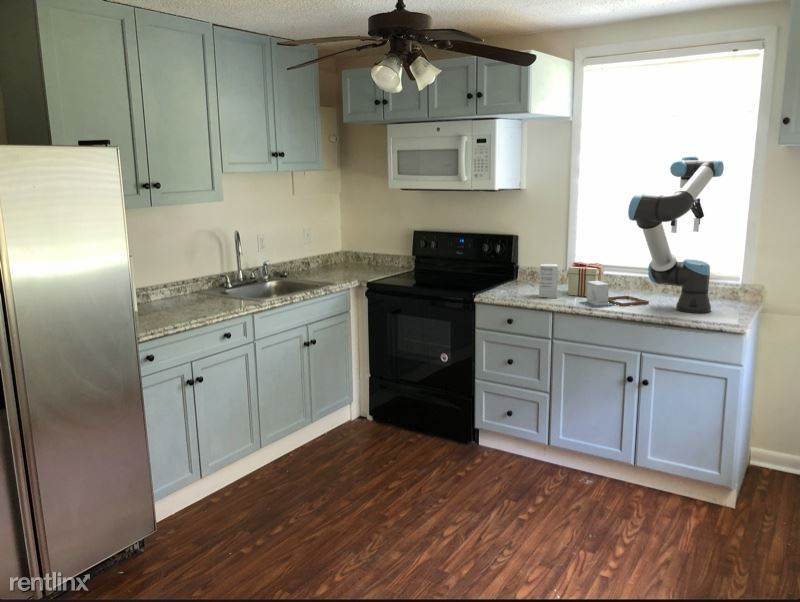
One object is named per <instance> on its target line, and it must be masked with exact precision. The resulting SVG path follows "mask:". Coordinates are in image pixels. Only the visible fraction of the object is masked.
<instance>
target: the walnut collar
mask: <svg viewBox="0 0 800 602" xmlns="http://www.w3.org/2000/svg"><path fill="white" fill-rule="evenodd" d="M616 299H621V300H629V299H631V300H630V301H629V302H620V301H618V300H616ZM633 300H635V301H633ZM631 301H632V302H631ZM637 301H638V302H637ZM649 301H650V300H649ZM649 301H648V300H646V299H642V298H638V297H635V296H631V295H620V296H608V302H609V303H612V304H616V305H615V306H618V305H619V307H621V306H624V307H631V306H630V305H634V306H642V305H641V304H645V305H649V304H650V302H649Z"/></svg>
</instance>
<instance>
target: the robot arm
mask: <svg viewBox="0 0 800 602" xmlns="http://www.w3.org/2000/svg"><path fill="white" fill-rule="evenodd" d="M669 168H670V169H669V171H670V173H671V175H672V176H674V177H677V178H680V181H679V188H680V189H679V190H677V191H675V192H674V193H673V194H644V193H642V194H635V195H634V196H633V197H632V198H631V200H630V202H629V205H628V212H627V213H628V215H627V216H628V219H629V221H632V222H634V221H635V222H636V225H637V227H638V228H639V229H642V232H643V235H644V237H645V241H646V244H647V248H648V250H649V254H650V257H651V261H650V262H649V264H648V266H647V268H648V269H647V271H648V273H647V274H648V275H647V276H648V278H649V280H650V281H651V282H652V283H654V284H656V285H661V286H662V285H664V286H671V287H681V292H680V295H679V298H678V300H677V303H676V304H675V305H676V306H675V309H676V310H677V311H680V312H684V313H691V314H705V313H706V314H708V313H710V312H711V311H712V305H711V303H710V297H709V289H710V288H709V285H710V278H711V277H710V275H711V266H710V264H709V263H708V262H705V261H702V260H698V259H691V258H690V259H689V258H687V259H684V260H683V261H678V260H677V258H676V256H675V255H674V254H672V253H671V250H670V247H669V243H668V242H669V241H668V239H667V237H666V233H665V229H664V226H663V223H667V222H668V223H669V222H670V226H671V230H670V232H671V233H672V234H673V233H675V234H677V231H678V230H677V229H678V219H679V218H682V216H684V215H685V214H687V213H688V212H689V211H691V212H692V214H693V215H694V218H693V227H692V228H693V229H692V230H693V232H695V233H697V232H698V233H699V229H700V228H699V227H700V224H701V219H703V218H704V217H705V213H704V211H703V207H702V204H701V199H700V198H699V197H698V196H699V195H700V194H701V192H703V190H704V189H705V188H706V187H707V185H708V184H709V183H710V181H711V180H712V179H713V178H719V177H721V176H722V175H723V173H724V168H725V166H724V162H723V161H722V160H721V159H720V160H717V159H707V160H706V159H704V160H703V159H702V160H699V157H698V156H683V157H682V158H681V160H680V159H679V160H676V161H673V163H671V165H670V167H669Z"/></svg>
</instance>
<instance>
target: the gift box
mask: <svg viewBox="0 0 800 602" xmlns="http://www.w3.org/2000/svg"><path fill="white" fill-rule="evenodd" d="M567 269H568V270H567V273H568V285H567V287H568V288H567V292H568V293H567V295H568V296H573V295H575V296H576V297H584V296H585V297H586V298H587V282H588V281H601V282H604V273H605V266H604V265H602V264H601V263H597V262H592V263H587V264H586V263H584V262H581V261H574V262H573V263H572V265H571V266H570V267H568V268H567Z"/></svg>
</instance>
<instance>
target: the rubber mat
mask: <svg viewBox="0 0 800 602" xmlns="http://www.w3.org/2000/svg"><path fill="white" fill-rule="evenodd" d="M580 303H581V305H583V304H585V305H584V306H587V305H588V306H587V307H590V306H591V307H590V308H593V307H596V308H603V307H602V306H607V307H614V306H615V305H614V304H611V303H608V305H594V304H592V303H589V302H587V300H586V301H585V300H584V301H578V304H580ZM613 305H614V306H613Z"/></svg>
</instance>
